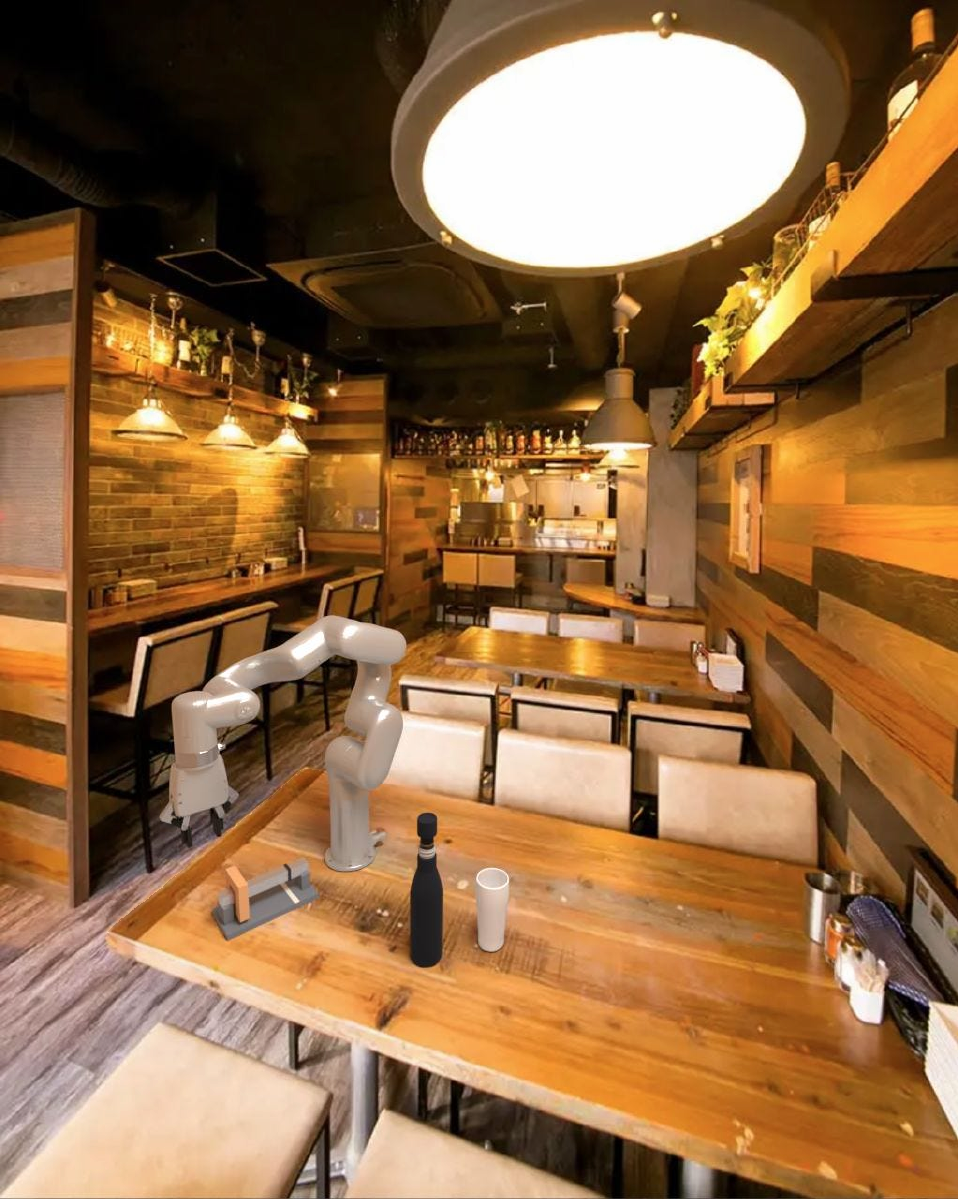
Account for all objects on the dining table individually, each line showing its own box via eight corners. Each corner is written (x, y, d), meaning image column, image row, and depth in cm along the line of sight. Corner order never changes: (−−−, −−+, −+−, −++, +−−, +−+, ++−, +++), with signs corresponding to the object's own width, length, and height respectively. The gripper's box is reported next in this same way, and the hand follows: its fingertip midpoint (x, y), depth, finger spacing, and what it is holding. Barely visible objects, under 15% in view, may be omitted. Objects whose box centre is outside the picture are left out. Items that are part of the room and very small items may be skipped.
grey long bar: (303, 866, 134) (303, 856, 134) (308, 872, 132) (308, 861, 132) (218, 902, 122) (217, 891, 121) (222, 909, 120) (222, 898, 119)
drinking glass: (511, 936, 120) (513, 871, 118) (501, 960, 114) (503, 892, 112) (480, 927, 123) (482, 864, 120) (469, 950, 116) (471, 884, 114)
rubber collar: (236, 898, 127) (234, 865, 126) (249, 918, 121) (248, 884, 120) (227, 902, 126) (225, 869, 124) (240, 922, 120) (238, 888, 118)
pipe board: (299, 875, 138) (299, 857, 137) (318, 897, 131) (318, 879, 130) (212, 913, 125) (210, 894, 124) (227, 940, 117) (226, 920, 117)
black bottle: (437, 970, 111) (438, 829, 106) (405, 964, 113) (405, 824, 107) (445, 945, 117) (447, 811, 112) (415, 940, 119) (416, 807, 113)
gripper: (235, 737, 121) (239, 816, 124) (143, 760, 110) (151, 846, 113) (247, 749, 116) (252, 832, 119) (153, 775, 105) (160, 865, 108)
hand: (203, 838), depth 116 cm, fingers open, 4 cm apart
